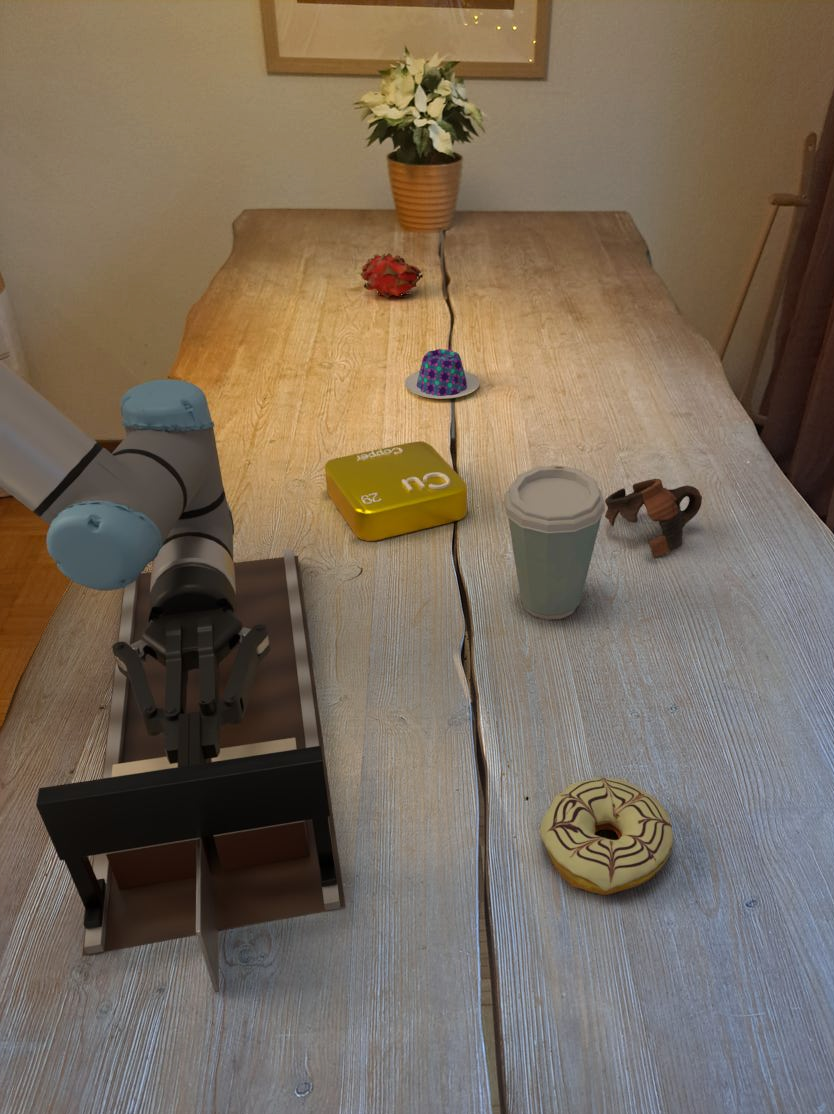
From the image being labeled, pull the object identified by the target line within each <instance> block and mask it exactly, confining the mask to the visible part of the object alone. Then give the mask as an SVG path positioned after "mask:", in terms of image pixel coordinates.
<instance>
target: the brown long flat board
mask: <svg viewBox="0 0 834 1114" xmlns="http://www.w3.org/2000/svg"><path fill="white" fill-rule="evenodd" d="M282 553H283V556H280V557H272V558H263V559H255V560H254V559H253V560H246V561H245V560H244V561H237V562H234V568H235V585H236V604H237V617H238V618H239V619H240V620H241V622H242V625H243V626H242V627H245V628H249V629H252V628H253V627H254V626H255V625H258V624H263V625H265V626H266V627H267V633H268V638H269V645H270V651H269V653H268V654H267V655H266V656H265V657H264V659H263V660H262V661H261V662H260V663H259V666H258V670H257V673H256V677H255V680H254V684H253V687H252V691H251V694H250V697H249V701H248V704H247V708H246V711H245V715H244V718H243V720H242V722H240V723H239V724H230V723H226V724H224V725H223V726H222V727H221V728H220V749H221V748H228V747H235V746H241V745H248V744H255V743H261V742H268V741H275V740H282V739H288V738H295V740H296V746H297V749H301V748H308V747H314V746H321V748H322V756H323V763H324V770H325V778H326V785H327V792H328V799H329V807H330V814H331V815H330V816H328V819H329V826H330V833H331V840H332V847H333V854H334V862H335V870H336V877H337V885H332V886H326V887H322V884H321V876H320V867H319V861H318V854H317V848H316V842H315V835H314V829H313V823H312V819H310V820H306V824H307V833H308V842H309V852H310V856H309V857H304V858H298V859H292V860H286V861H280V862H275V863H269V864H263V865H257V866H251V867H246V868H240V869H234V870H228V871H223V870H222V867H221V863H220V859H219V856H218V852H217V848H216V844H215V840H214V836H210V873H211V877H212V880H213V884H214V888H215V891H216V895H217V899H218V932H223V931H228V930H234V929H239V928H244V927H249V926H255V925H260V924H266V923H271V922H278V921H282V920H287V919H292V918H298V917H304V916H310V915H315V914H321V913H326V912H327V913H328V912H333V911H337V910H341V909H346V899H345V893H344V892H345V891H344V885H343V879H342V878H343V877H342V871H341V863H340V856H339V847H338V842H337V834H336V833H337V832H336V827H335V819H334V812H333V804H332V797H331V789H330V781H329V775H328V768H327V767H328V766H327V759H326V751H325V746H324V739H323V731H322V723H321V716H320V708H319V702H318V694H317V687H316V680H315V673H314V664H313V655H312V650H311V642H310V634H309V626H308V620H307V613H306V606H305V599H304V590H303V582H302V576H301V568H300V562H299V561H300V560H299V556H298V555H295V550H294V548H288V549H287V548H286V549H283V550H282ZM151 574H152V571H151V572H142V573H141V574H140V576H139V577H138V578H137V580H136V581H134V582H133V583H131V584H129V585H127V586H125V587H123V588H122V589H123V591H122V597H121V598H122V600H121V608H120V615H119V627H118V632H117V633H118V635H117V642H125V643H127V644H128V645H131V644H133V643H135V642H137V641H139V640H141V634H142V632H143V631H144V629H145V628H146V627H147V626H148V615H149V601H150V585H151ZM239 647H240V643H239V644H238V645H237V646H236V647H235V649H234V650H233V651H232V652H231V653H230V654H229V655H228V656H227V657H226V658H225V659H224V660H223V661H221V662H220V663H219V673H220V678H219V697H220V701H221V700H223V696H224V693H225V690H226V687H227V684H228V681H229V678H230V675H231V671H232V668H233V665H234V662H235V659H236V656H237V653H238V650H239ZM145 657H146V663H145V664H144V672H145V675H146V678H147V681H148V684H149V687H150V690H151V693H152V696H153V699H154V702H155V705H156V708H159V709H164V698H165V679H166V667H165V666H163V665H162V664H161V663H159V662H158V661H157V660H155V659H154V658H153V657H151V656H150V655H149V654H147V655H146V656H145ZM112 678H113V679H112V687H111V694H110V695H111V697H110V704H109V705H110V706H109V712H108V713H109V714H108V723H107V730H106V740H105V748H104V757H103V765H102V774H101V776H102V777H101V779H103V778H110V777H112V767H113V765H114V764H121V763H127V762H134V761H141V760H148V759H154V758H161V757H167V756H166V753H165V749H164V733H160V734H158V735H156V736H149V735H148V734H147V733H146V729H145V726H144V723H143V720H142V717H141V713H140V710H139V707H138V704H137V701H136V697H135V694H134V691H133V688H132V685H131V681H130V680H129V679H128V678H127V677H126V676H125V675H123V674H122V673H121V672H120V671H119V669H118V665H117V662H116V659H115V661H114V668H113V677H112ZM198 700H199V669H193V670H189V671H188V682H187V702H186V713H189V715H190V713H192V712H199V711H200V707H199V703H198ZM200 715H201V711H200ZM209 762H212V758H209V759H206V763H209ZM92 857H93V858H92V863H91V866H92V868H93V871H94V873H95V876H96V878H97V879H104V880H105V882H106V888H105V899H104V909H103V919H102V926H101V927H95V928H89V929H85V928H84V934H83V943H82V952H81V953H82V954H81V957H86V956H91V955H96V954H103V953H108V952H114V951H120V950H123V949H129V948H135V947H141V946H147V945H151V944H156V943H162V942H168V941H172V940H173V941H174V940H178V939H183V938H189V937H195V936H197V934H196V876H194V877H188V878H183V879H177V880H171V881H165V882H159V883H154V884H148V885H142V886H136V887H130V888H124V889H119V887H118V885H117V882H116V880H115V877H114V874H113V872H112V869H111V867H110V864H109V861H108V859H107V856H106V853H104V854H98V855H92Z"/></svg>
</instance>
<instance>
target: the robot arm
mask: <svg viewBox="0 0 834 1114" xmlns="http://www.w3.org/2000/svg"><path fill="white" fill-rule="evenodd" d="M120 411H121V419H122V420H121V425H122V427H124V431H125V437H124V438H123V439H122V441H121V442H120V443H119V444H118V446H117V447H116V448H115V449H114V450H113V452H112V453H111V452H110V451H109V450H107V448H105V447H103V446H102V445H101V444H100V443H99V442H97V441H96V440H95V439H94V438H93V437H91V436H90V435H89V434H88V433H87V432H86V431H85V430H83V429H82V428H81V427H80V426H79V425H77V424H76V423H75V421H73V420H72V419H70V418H69V417H68V416H67V415H66V414H64V413H63V412H62V411H61V410H60V409H59V408H57V407H56V406H55V405H54V404H53V403H51V402H50V400H48V399H47V398H46V397H44V396H43V395H42V394H41V393H40V392H39V391H38V390H36V389H35V388H34V387H32V386H31V384H29V383H28V382H27V381H25V380H24V379H23V378H22V377H21V376H20V375H19V374H17V373H16V372H15V371H14V370H13V369H11V368H10V367H9V366H8V365H6V363H4V362H3V361H2V360H1V359H0V488H2V489H3V490H4V491H6V492H7V493H8V494H10V495H11V496H12V497H14V498H15V499H16V500H17V501H19V502H20V503H21V504H22V505H24V506H25V507H26V508H28V509H29V510H30V511H31V512H32V513H34V515H36V516H37V517H39V518H40V519H41V520H42V521H43V522H45V523H46V524H47V525H49V528H48V531H47V533H46V540H45V541H46V548H47V551H48V554H49V557H51V559H53V561H54V563H55V564H56V566H57V569H58V570H59V571H60V572H61V573H62V574H63V575H64V576H65V577H66V578H68V579H69V580H70V581H72V582H73V583H76V584H78V585H80V586H82V587H85V588H88V589H91V590H93V591H94V590H96V591H102V592H103V591H104V592H106V591H107V592H108V591H109V592H110V591H116V590H120V589H124V587H125V586H127V585H129V584H131V583H133V582H134V581H136V580H137V578H138V577H139V576H140V574H141V573H144V571H145V569H146V568H147V567H148V565H149V564H150V563H152V565H151V572H152V574H151V585H150V601H149V615H148V626H147V627H146V628H145V629H144V631H143V632H142V634H141V640H139V641H137V642H135V643H133V644H131V645H128V644H127V643H125V642H118V641H117V642H115V643H114V644H113V645H112V646H111V649H112V652H113V655H114V658H115V660H116V662H117V665H118V669H119V671H120V672H121V673H122V674H123V675H125V676H126V677H127V678H128V679H129V680H130V681H131V685H132V688H133V691H134V694H135V697H136V701H137V704H138V707H139V710H140V713H141V717H142V720H143V723H144V726H145V729H146V733H147V734H148V735H149V736H156V735H158V734H160V733H164V749H165V753H166V756H167V760H168V761H169V763H170V764H174V763H178V767H182V766H189V765H195V764H202V763H206V759H209V758H216V757H218V755H219V754H220V728H221V727H222V726H223V725H224V724H226V723H230V724H239V723H240V722H242V720H243V718H244V715H245V711H246V708H247V704H248V701H249V697H250V694H251V691H252V687H253V684H254V680H255V677H256V673H257V670H258V666H259V663H260V662H261V661H262V660H263V659H264V657H265V656H266V655H267V654H268V653H269V651H270V645H269V638H268V633H267V627H266V626H265V625H263V624H258V625H255V626H254V627H253V628H252V629H249V628H245V627H242V626H243V625H242V622H241V620H240V619H239V618H238V617H237V604H236V585H235V568H234V563H235V561H234V535H235V527H234V525H235V523H234V519H233V513H232V510H231V507H230V504H229V502H228V500H227V495H226V491H225V487H224V484H223V483H224V482H223V477H222V476H223V475H222V472H221V471H222V470H221V464H220V460H219V453H218V447H217V442H216V436H215V435H216V434H215V429H214V428H215V422H214V421H213V420H212V415H211V411H210V407H209V403H208V400H207V396H206V394H205V392H204V391H203V390H202V389H201V388H200V387H199V386H197V385H196V384H195V383H192V382H189V381H186V380H181V379H170V378H169V379H156V380H149V381H146V382H142V383H140V384H137V385H135V386H133V387H131V388H130V389H129V390H127V391H126V392H125V393H124V394H123V395H122V397H121V399H120ZM239 643H240V647H239V650H238V653H237V656H236V659H235V662H234V665H233V668H232V671H231V675H230V678H229V681H228V684H227V687H226V690H225V693H224V696H223V700H221V701H220V697H219V678H220V673H219V663H220V662H221V661H223V660H224V659H225V658H226V657H227V656H228V655H229V654H230V653H231V652H232V651H233V650H234V649H235V647H236V646H237V645H238V644H239ZM147 654H149V655H150V656H151V657H153V658H154V659H155V660H157V661H158V662H159V663H161V664H162V665H163V666H165V667H166V679H165V698H164V709H159V708H156V705H155V702H154V699H153V696H152V693H151V690H150V687H149V684H148V681H147V678H146V675H145V672H144V664H145V663H146V657H145V656H146V655H147ZM193 669H199V700H198V703H199V707H200V711H201V715H200V711H199V712H192V713H190V715H189V713H186V702H187V682H188V671H189V670H193Z"/></svg>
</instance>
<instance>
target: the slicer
mask: <svg viewBox="0 0 834 1114" xmlns="http://www.w3.org/2000/svg"><path fill="white" fill-rule="evenodd" d="M35 806H36V808H37V811H38V813H39V815H40V819H41V820H42V822H43V825H44V827H45V829H46V831H47V834H48V836H49V839H50V840H51V843H52V846H53V848H54V850H55V852H56V855H57V857H58V859H59V861H64V862H65V866H66V868H67V870H68V872H69V874H70V877H71V879H72V882H73V884H74V886H75V888H76V891H77V893H78V896H79V898H80V899H81V902H82V904H83V905H82V906H83V907H84V915H83V927H84V930H85V929H89V928H95V927H101V926H102V919H103V909H104V899H105V888H106V882H105V880H104V879H97V878H96V876H95V873H94V871H93V868H92V863H91V861H90V857H91V856H92V857H93V855H98V854H104V853H110V852H116V851H122V850H128V849H134V848H140V847H147V846H153V845H159V844H165V843H171V842H177V841H183V840H189V839H195V838H199V839H197V864H196V934H197V935H196V937H197V940H198V943H199V944H198V945H199V947H200V949H201V950H200V951H201V953H202V956H203V959H204V962H205V966H206V969H207V972H208V975H209V978H210V982H211V985H212V988H213V991H214V994H215V993H220V967H219V966H220V965H219V963H220V962H219V959H220V958H219V955H220V953H219V931H218V899H217V895H216V891H215V888H214V884H213V880H212V877H211V873H210V870H209V866H208V862H207V859H206V855H205V852H204V848H203V844H202V841H201V837H207V836H213V835H219V834H225V833H231V832H237V831H244V830H250V829H256V828H262V827H268V826H274V825H280V824H286V823H292V822H298V821H304V820H310V819H312V823H313V829H314V835H315V842H316V848H317V854H318V861H319V867H320V876H321V884H322V887H326V886H332V885H337V877H336V870H335V862H334V854H333V847H332V840H331V833H330V826H329V819H328V816H330V815H331V814H330V807H329V799H328V792H327V785H326V778H325V770H324V763H323V756H322V748H321V746H314V747H308V748H301V749H295V750H288V751H281V752H275V753H268V754H262V755H255V756H248V757H242V758H235V759H229V760H222V761H215V762H209V763H202V764H195V765H189V766H182V767H176V768H169V769H162V770H156V771H149V772H143V773H136V774H129V775H123V776H116V777H110V778H103V779H102V778H97V779H92V780H90V779H89V780H84V781H77V782H70V783H64V784H57V785H51V786H44V787H39V788H38V793H37V797H36V802H35Z"/></svg>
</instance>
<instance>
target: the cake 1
mask: <svg viewBox="0 0 834 1114" xmlns="http://www.w3.org/2000/svg"><path fill="white" fill-rule="evenodd" d="M176 767H178V763H174V764H170V763H169V761H168V760H167V757H161V758H154V759H148V760H141V761H134V762H127V763H121V764H114V765H113V767H112V777H116V776H123V775H129V774H136V773H143V772H149V771H156V770H162V769H169V768H176ZM197 839H199V838H195V839H189V840H183V841H177V842H171V843H165V844H159V845H153V846H147V847H140V848H134V849H128V850H122V851H116V852H110V853H106V856H107V859H108V861H109V864H110V867H111V869H112V872H113V874H114V877H115V880H116V882H117V885H118V887H119V889H124V888H130V887H136V886H142V885H148V884H154V883H159V882H165V881H171V880H177V879H183V878H188V877H194V876H196V864H197ZM201 841H202V844H203V848H204V852H205V855H206V859H207V862H208V866H209V870H210V836H207V837H201Z"/></svg>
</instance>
